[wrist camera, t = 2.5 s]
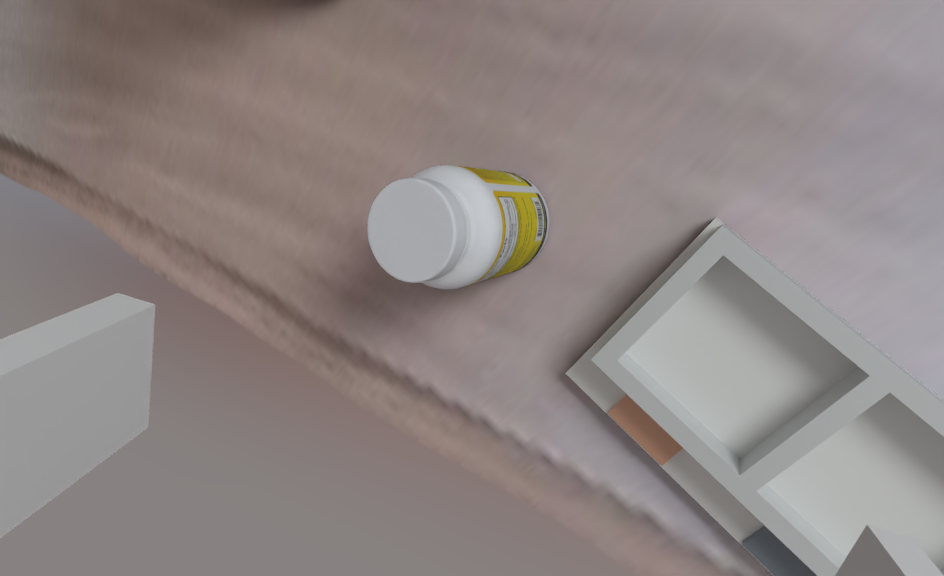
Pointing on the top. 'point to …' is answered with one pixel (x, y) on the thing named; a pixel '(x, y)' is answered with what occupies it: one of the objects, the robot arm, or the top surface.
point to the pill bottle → (457, 226)
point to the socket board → (771, 410)
